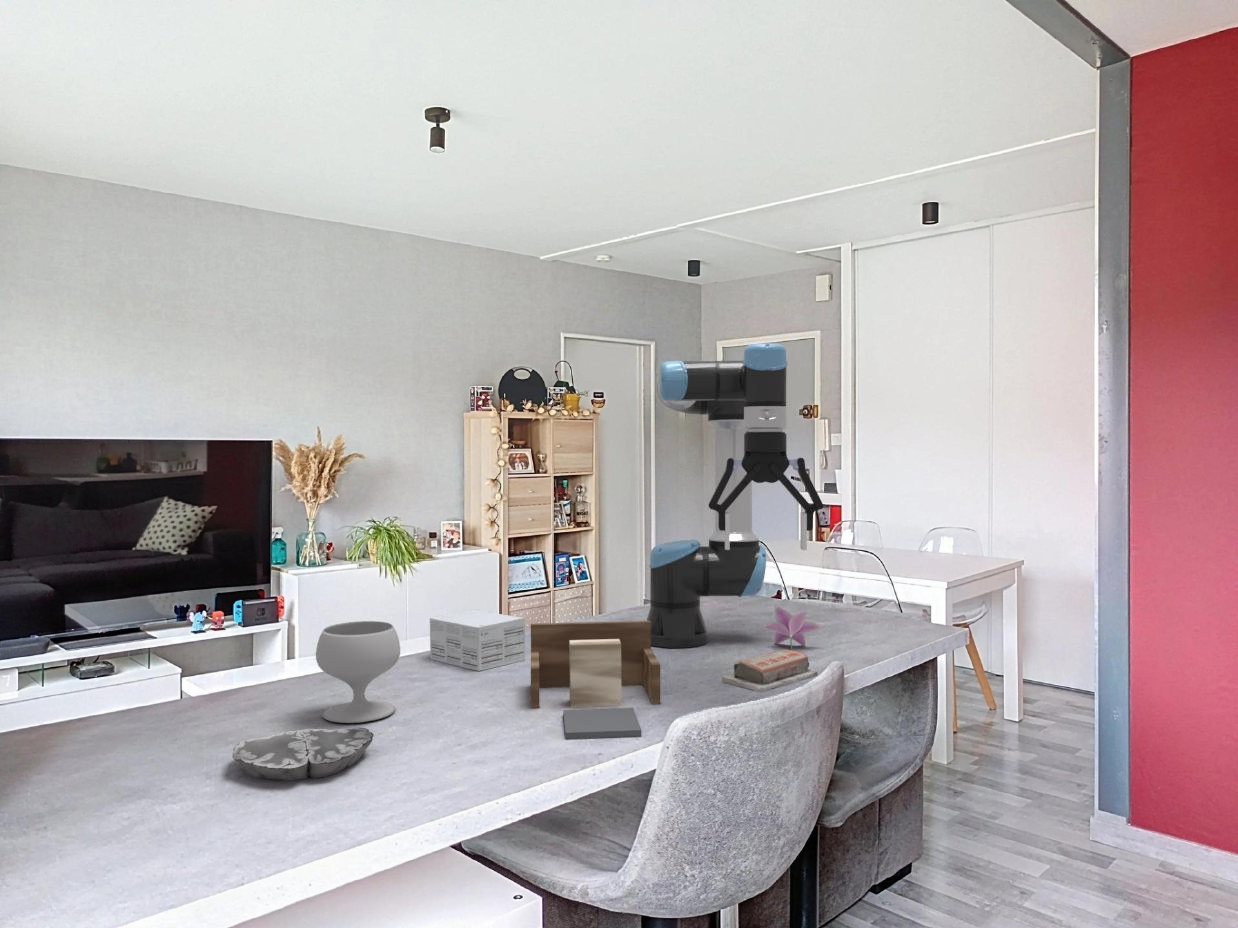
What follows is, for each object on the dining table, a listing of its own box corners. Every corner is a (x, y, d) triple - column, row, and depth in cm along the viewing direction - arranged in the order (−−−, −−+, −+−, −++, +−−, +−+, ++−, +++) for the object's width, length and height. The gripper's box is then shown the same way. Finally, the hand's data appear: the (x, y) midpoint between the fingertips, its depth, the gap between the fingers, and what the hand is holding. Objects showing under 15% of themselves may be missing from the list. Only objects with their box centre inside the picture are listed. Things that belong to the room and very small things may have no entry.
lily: (829, 654, 199) (824, 613, 203) (805, 642, 191) (800, 600, 195) (782, 664, 205) (778, 624, 210) (756, 653, 197) (752, 611, 202)
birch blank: (569, 700, 161) (569, 640, 161) (619, 698, 162) (618, 638, 162) (570, 707, 157) (570, 645, 157) (621, 705, 158) (621, 643, 158)
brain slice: (232, 799, 118) (232, 776, 118) (232, 757, 133) (232, 737, 133) (384, 776, 126) (383, 755, 125) (367, 739, 141) (367, 721, 141)
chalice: (324, 731, 144) (322, 639, 144) (310, 709, 157) (309, 624, 156) (409, 719, 151) (409, 631, 150) (390, 698, 163) (389, 616, 163)
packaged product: (778, 645, 185) (818, 653, 177) (778, 668, 185) (818, 677, 178) (720, 659, 173) (761, 669, 165) (720, 684, 173) (761, 695, 166)
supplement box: (527, 660, 191) (526, 617, 191) (479, 672, 182) (478, 627, 181) (476, 648, 203) (476, 608, 202) (429, 659, 193) (428, 616, 193)
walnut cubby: (531, 685, 171) (530, 623, 171) (649, 681, 173) (649, 620, 173) (530, 708, 156) (530, 640, 156) (660, 703, 159) (660, 636, 158)
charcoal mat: (563, 715, 152) (563, 709, 152) (632, 713, 153) (632, 707, 153) (565, 738, 140) (565, 732, 140) (641, 736, 141) (641, 729, 141)
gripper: (695, 431, 157) (695, 551, 157) (839, 430, 155) (839, 551, 155) (695, 431, 164) (695, 546, 165) (832, 430, 162) (832, 546, 163)
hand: (765, 549), depth 160 cm, fingers open, 13 cm apart
